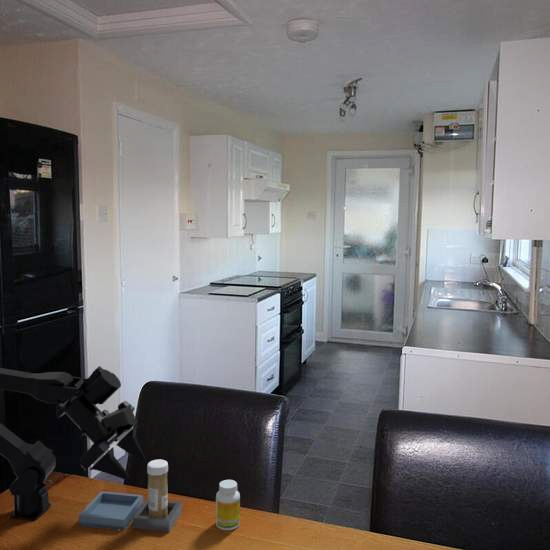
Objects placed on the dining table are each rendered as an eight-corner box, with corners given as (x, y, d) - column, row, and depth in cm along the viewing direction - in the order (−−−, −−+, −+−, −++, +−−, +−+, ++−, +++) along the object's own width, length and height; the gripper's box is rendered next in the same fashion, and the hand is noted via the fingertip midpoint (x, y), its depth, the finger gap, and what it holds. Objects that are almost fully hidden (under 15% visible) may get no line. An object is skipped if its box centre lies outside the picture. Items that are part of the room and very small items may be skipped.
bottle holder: (132, 528, 118) (132, 517, 118) (147, 508, 126) (147, 498, 126) (169, 532, 117) (169, 521, 116) (181, 511, 125) (181, 501, 125)
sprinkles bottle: (171, 521, 121) (171, 464, 119) (151, 527, 118) (151, 469, 117) (163, 512, 125) (163, 456, 123) (144, 518, 122) (144, 461, 121)
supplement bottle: (213, 520, 122) (213, 479, 121) (236, 516, 124) (236, 476, 123) (219, 533, 117) (219, 491, 116) (242, 528, 118) (243, 487, 118)
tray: (79, 525, 119) (78, 514, 118) (101, 501, 129) (101, 491, 129) (124, 530, 117) (124, 519, 117) (143, 505, 127) (143, 495, 127)
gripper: (91, 409, 111) (143, 464, 110) (129, 382, 129) (173, 429, 129) (57, 443, 113) (107, 497, 112) (99, 412, 131) (142, 458, 131)
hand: (135, 468), depth 121 cm, fingers open, 9 cm apart
